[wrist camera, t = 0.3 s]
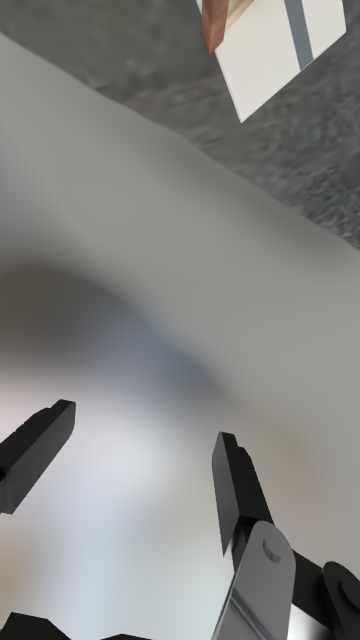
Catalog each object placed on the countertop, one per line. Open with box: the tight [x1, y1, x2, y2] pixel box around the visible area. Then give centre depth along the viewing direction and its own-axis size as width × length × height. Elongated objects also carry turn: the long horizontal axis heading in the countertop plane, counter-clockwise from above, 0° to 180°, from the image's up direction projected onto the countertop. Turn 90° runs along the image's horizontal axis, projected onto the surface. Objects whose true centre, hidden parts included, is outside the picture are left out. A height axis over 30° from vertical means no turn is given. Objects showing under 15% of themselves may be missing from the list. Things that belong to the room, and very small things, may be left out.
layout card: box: [196, 0, 346, 123], centre depth 20 cm, size 12×12×1 cm
